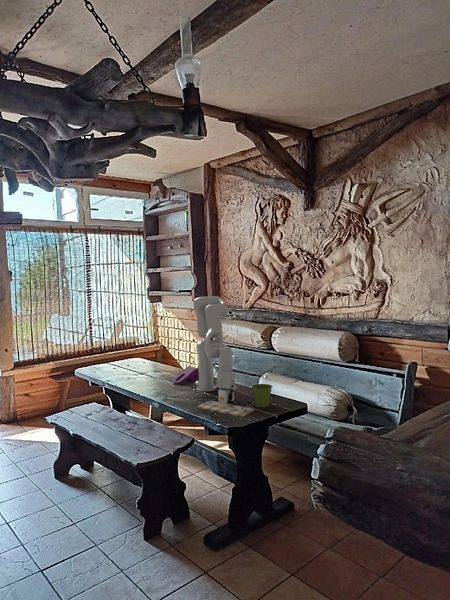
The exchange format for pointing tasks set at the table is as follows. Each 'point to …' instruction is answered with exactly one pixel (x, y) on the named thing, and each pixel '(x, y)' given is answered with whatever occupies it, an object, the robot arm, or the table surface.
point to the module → (224, 395)
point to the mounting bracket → (187, 375)
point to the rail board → (227, 411)
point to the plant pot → (262, 394)
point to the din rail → (226, 406)
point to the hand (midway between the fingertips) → (226, 398)
